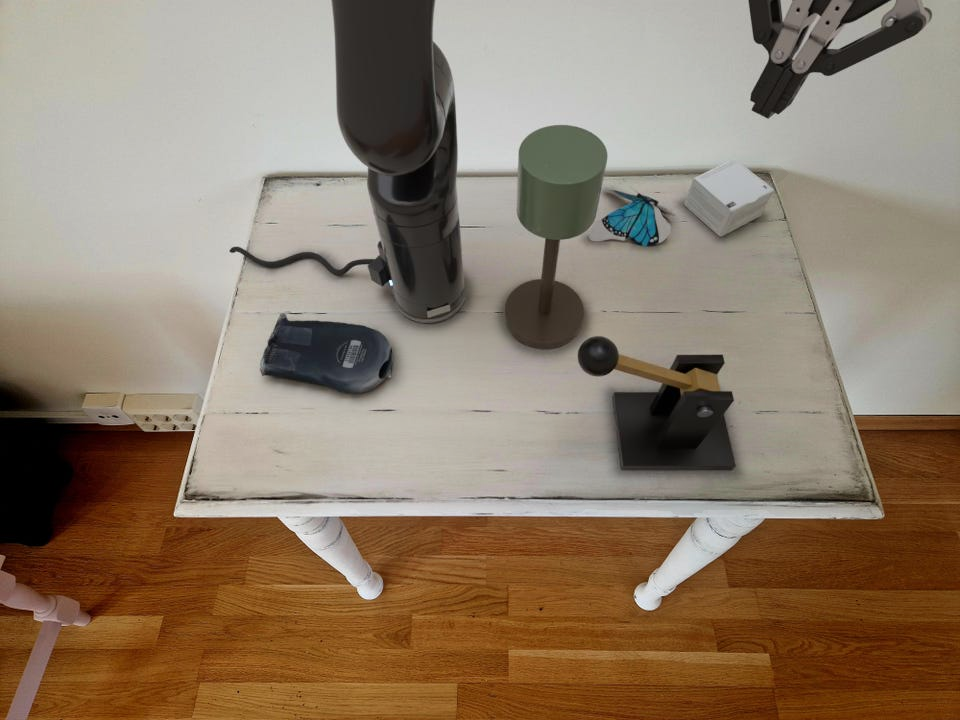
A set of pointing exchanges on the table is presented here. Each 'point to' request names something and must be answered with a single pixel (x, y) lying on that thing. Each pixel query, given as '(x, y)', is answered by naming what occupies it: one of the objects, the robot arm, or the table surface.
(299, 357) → the electronic device
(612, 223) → the decorative butterfly
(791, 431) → the table surface
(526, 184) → the desk lamp
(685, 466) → the switch bracket
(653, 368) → the lever with ball knob
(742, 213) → the small box
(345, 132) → the robot arm
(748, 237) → the table surface
